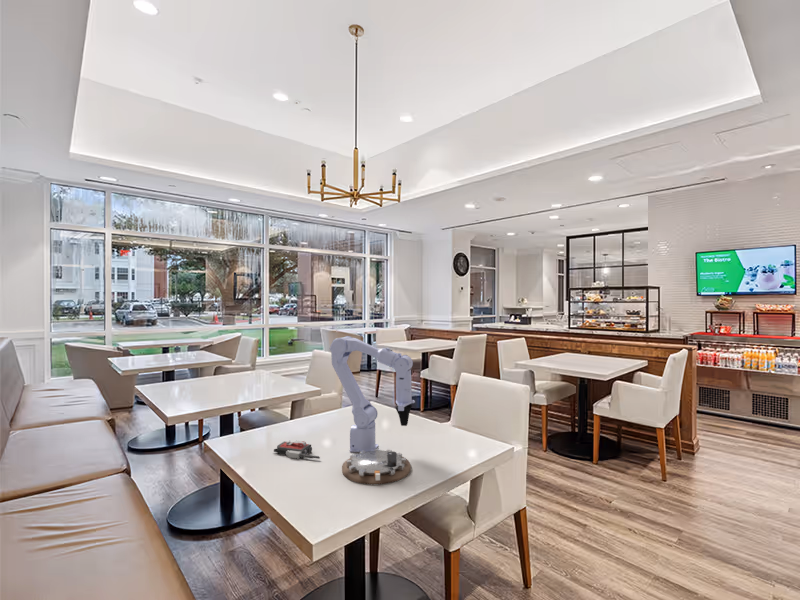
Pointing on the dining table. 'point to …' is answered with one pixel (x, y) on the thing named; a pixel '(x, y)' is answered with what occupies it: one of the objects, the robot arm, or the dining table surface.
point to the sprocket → (376, 462)
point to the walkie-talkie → (295, 449)
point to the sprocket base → (376, 475)
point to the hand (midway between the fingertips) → (404, 425)
